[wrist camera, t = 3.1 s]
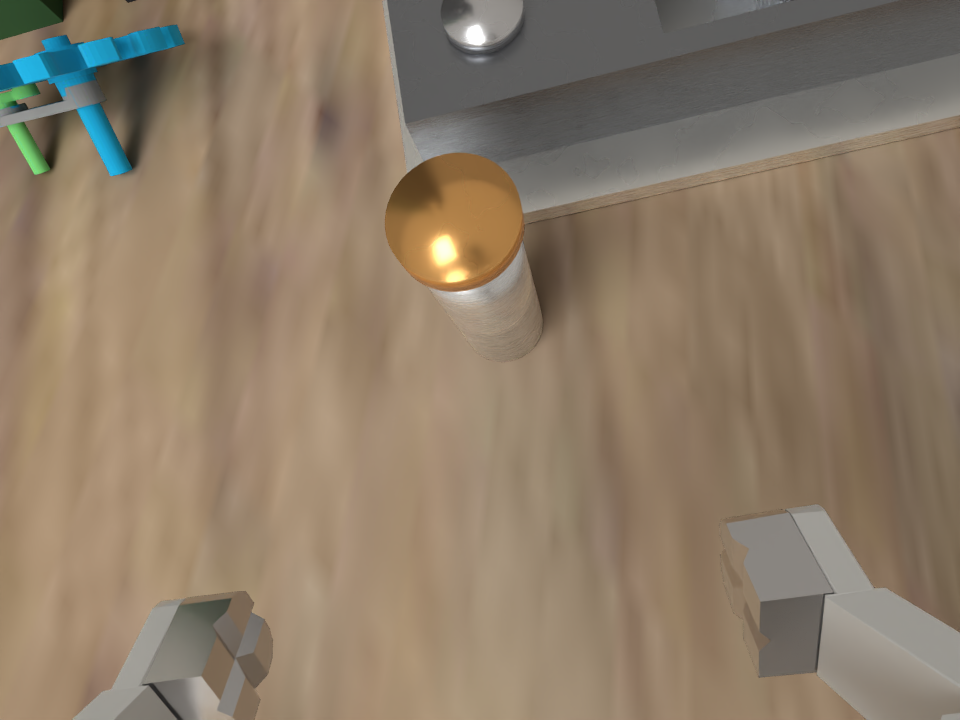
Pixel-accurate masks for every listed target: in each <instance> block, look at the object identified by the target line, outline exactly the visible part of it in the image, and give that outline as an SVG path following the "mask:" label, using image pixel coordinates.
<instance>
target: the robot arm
mask: <svg viewBox="0 0 960 720" xmlns="http://www.w3.org/2000/svg"><path fill="white" fill-rule="evenodd" d="M719 526H720V538H721V540H722V543H723V545H724V548H725V549H724V551H723V552H722V553H721V554H720V560H721V571H722V576H723V582H724V586H725V590H726V593H727V596H728V599H729V602H730V605H731V607H732V610H733V613H734V614H736V615H737V616H738V617H740V618H741V619H742V620H743V639H744V641H745V644H746V646H747V649H748V651H749V654H750V656H751V659H752V662H753V664H754V667H755V669H756V672H757V674H758V677H770V676H781V675H792V674H803V673H813V672H817V676H818V677H819V678H821V679H822V680H823V681H824V682H825V683H826V684H827V685H828V686H830V687H831V688H832V689H833V690H834V691H835V692H836V693H837V694H839V695H840V696H841V697H842V698H843V699H844V700H845V701H846V702H848V703H849V704H850V705H851V706H852V707H853V708H854V709H855V710H856V711H858V712H859V713H860V714H861V715H862V716H863V717H864V718H865V719H867V720H960V632H958V631H956V630H955V629H953V628H951V627H950V626H948V625H946V624H945V623H943V622H941V621H940V620H938V619H937V618H935V617H933V616H932V615H930V614H928V613H927V612H925V611H923V610H922V609H920V608H918V607H917V606H915V605H913V604H912V603H910V602H908V601H907V600H905V599H903V598H902V597H900V596H899V595H897V594H895V593H894V592H892V591H890V590H889V589H887V588H874V587H873V585H872V583H871V582H870V580H869V579H868V577H867V576H866V574H865V572H864V571H863V569H862V568H861V566H860V564H859V563H858V561H857V560H856V558H855V557H854V555H853V553H852V552H851V550H850V549H849V547H848V546H847V544H846V542H845V541H844V539H843V538H842V536H841V534H840V533H839V531H838V530H837V528H836V527H835V525H834V523H833V522H832V520H831V519H830V517H829V515H828V514H827V512H826V511H825V509H824V508H823V507H821V506H820V505H818V504H816V505H810V506H803V507H796V508H790V509H785V510H783V509H781V510H774V511H768V512H762V513H756V514H749V515H743V516H737V517H731V518H724V519H721V521H720V524H719ZM253 606H254V602H253V600H252V599H251V598H250V596H249V595H248V593H247V592H246V591H237V592H229V593H221V594H212V595H204V596H196V597H187V598H182V599H174V600H166V601H161V602H159V603H158V604H157V605H156V606H155V607H154V608H153V609H152V610H151V612H150V614H149V616H148V618H147V620H146V622H145V624H144V626H143V628H142V630H141V632H140V634H139V636H138V638H137V640H136V642H135V644H134V646H133V648H132V650H131V652H130V654H129V656H128V658H127V659H126V661H125V663H124V665H123V667H122V669H121V671H120V673H119V675H118V677H117V679H116V681H115V683H114V685H113V687H112V689H111V690H107V691H102V692H101V693H100V694H99V695H98V696H97V697H96V698H95V699H94V700H93V701H92V702H91V703H89V704H88V705H87V706H86V707H85V708H84V709H83V710H82V711H81V712H80V713H79V714H77V715H76V716H75V717H74V718H73V719H72V720H255V716H256V713H257V710H258V706H259V703H260V697H259V695H258V692H257V690H256V687H257V686H258V685H259V684H260V683H261V682H262V680H263V679H264V678H265V677H266V676H267V675H268V673H269V669H270V665H271V662H272V657H273V639H272V635H271V631H270V628H269V626H268V625H267V623H266V621H265V619H263V618H261V617H259V616H257V615H255V614H254V613H252V609H253Z"/></svg>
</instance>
